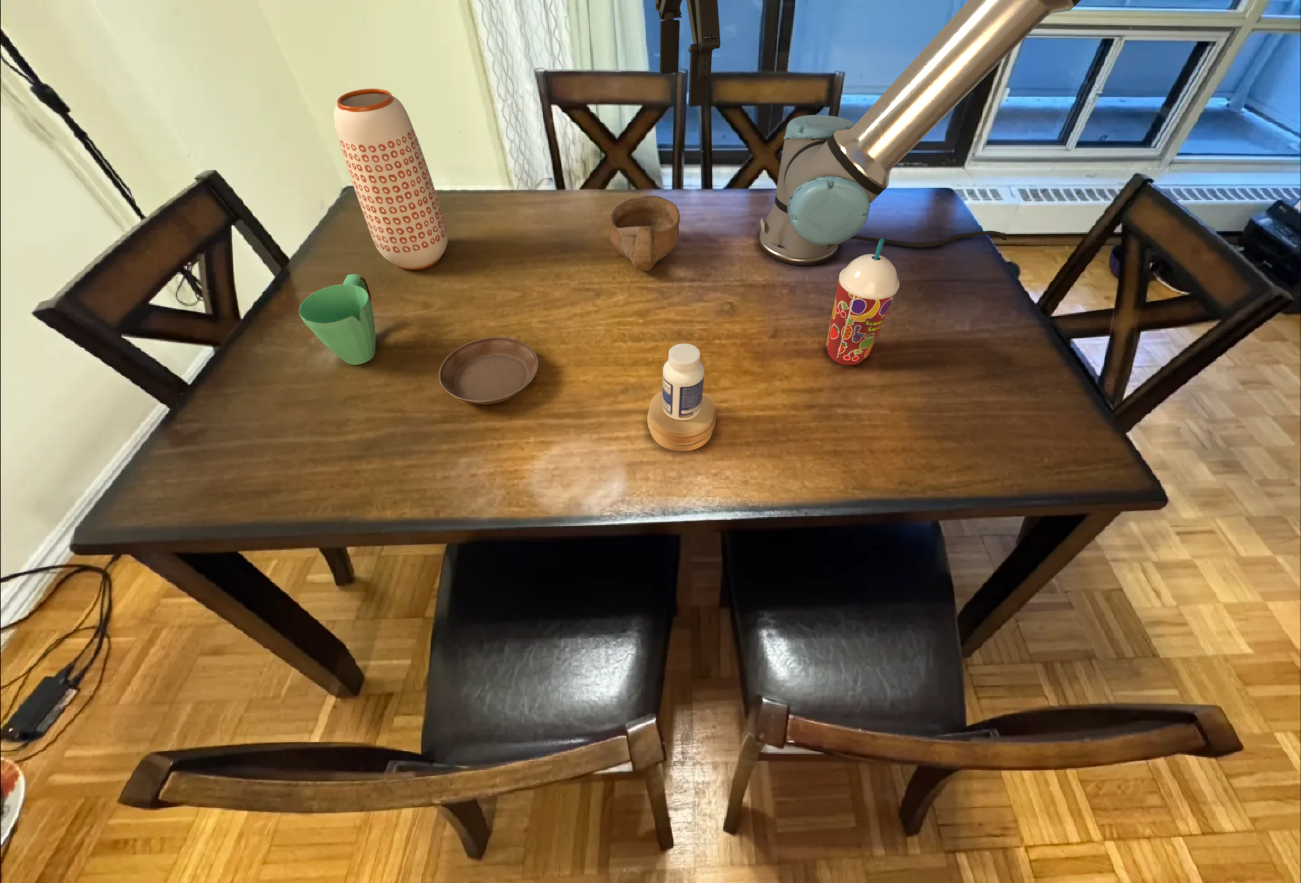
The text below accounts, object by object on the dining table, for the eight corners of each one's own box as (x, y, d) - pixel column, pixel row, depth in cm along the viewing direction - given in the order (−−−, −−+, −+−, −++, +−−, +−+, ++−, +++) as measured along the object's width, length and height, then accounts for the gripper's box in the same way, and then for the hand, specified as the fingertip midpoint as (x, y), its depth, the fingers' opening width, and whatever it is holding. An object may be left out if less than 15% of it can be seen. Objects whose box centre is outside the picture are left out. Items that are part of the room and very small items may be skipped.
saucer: (461, 346, 96) (456, 332, 94) (549, 352, 95) (547, 338, 93) (429, 410, 86) (423, 397, 84) (527, 418, 85) (524, 404, 83)
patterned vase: (450, 235, 119) (405, 78, 98) (457, 269, 110) (410, 107, 89) (381, 246, 116) (320, 88, 95) (383, 282, 108) (317, 118, 87)
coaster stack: (709, 402, 87) (711, 382, 84) (718, 451, 81) (721, 431, 78) (645, 405, 87) (645, 386, 84) (649, 455, 80) (649, 435, 77)
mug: (382, 374, 91) (357, 322, 84) (318, 376, 91) (288, 324, 84) (404, 316, 101) (384, 265, 93) (346, 318, 101) (322, 267, 93)
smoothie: (862, 378, 90) (903, 263, 75) (811, 359, 93) (841, 245, 78) (879, 348, 95) (921, 234, 80) (830, 331, 98) (862, 218, 83)
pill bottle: (705, 399, 82) (711, 344, 74) (695, 425, 78) (699, 371, 71) (669, 390, 83) (670, 335, 76) (656, 416, 80) (657, 361, 72)
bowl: (701, 270, 107) (689, 222, 100) (629, 297, 109) (612, 252, 101) (678, 221, 119) (665, 175, 111) (613, 246, 120) (596, 202, 112)
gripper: (762, -102, 61) (739, 117, 77) (686, -128, 77) (681, 58, 93) (693, -99, 60) (685, 123, 76) (631, -126, 75) (635, 63, 91)
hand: (683, 88), depth 84 cm, fingers open, 13 cm apart
